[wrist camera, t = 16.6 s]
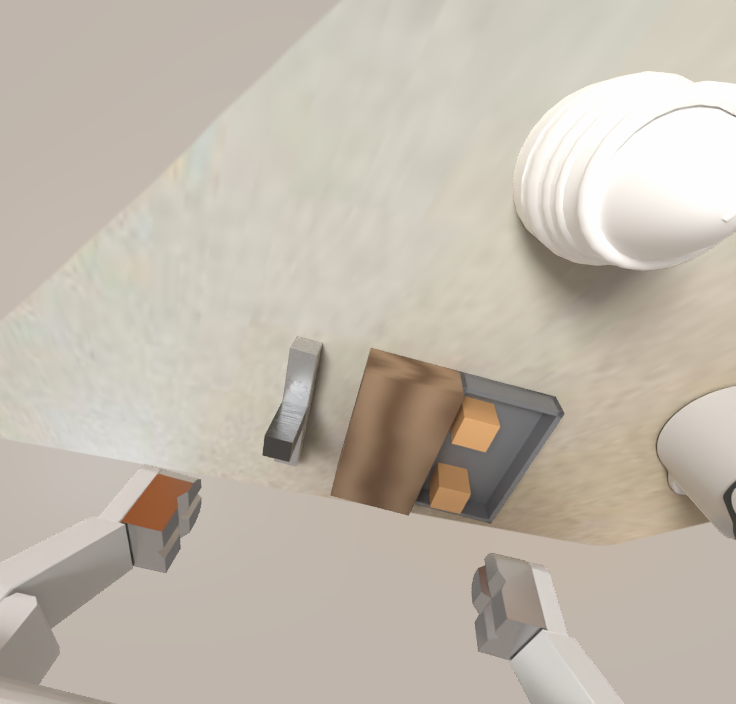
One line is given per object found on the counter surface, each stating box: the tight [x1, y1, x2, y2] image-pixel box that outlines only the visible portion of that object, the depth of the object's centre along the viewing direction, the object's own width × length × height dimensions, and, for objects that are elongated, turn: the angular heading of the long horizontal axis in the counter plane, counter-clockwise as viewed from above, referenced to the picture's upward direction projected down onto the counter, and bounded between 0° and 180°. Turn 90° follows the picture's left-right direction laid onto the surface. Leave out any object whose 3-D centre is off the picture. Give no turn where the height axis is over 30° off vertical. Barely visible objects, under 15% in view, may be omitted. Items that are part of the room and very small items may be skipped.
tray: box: [414, 372, 564, 523], centre depth 47 cm, size 12×20×3 cm, turn 166°
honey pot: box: [513, 71, 736, 271], centre depth 24 cm, size 13×13×18 cm
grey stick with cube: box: [263, 336, 322, 466], centre depth 44 cm, size 3×18×9 cm, turn 167°
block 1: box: [429, 462, 471, 514], centre depth 49 cm, size 4×4×4 cm
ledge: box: [331, 348, 464, 515], centre depth 46 cm, size 10×20×5 cm, turn 166°
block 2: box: [450, 396, 500, 452], centre depth 43 cm, size 4×4×4 cm
